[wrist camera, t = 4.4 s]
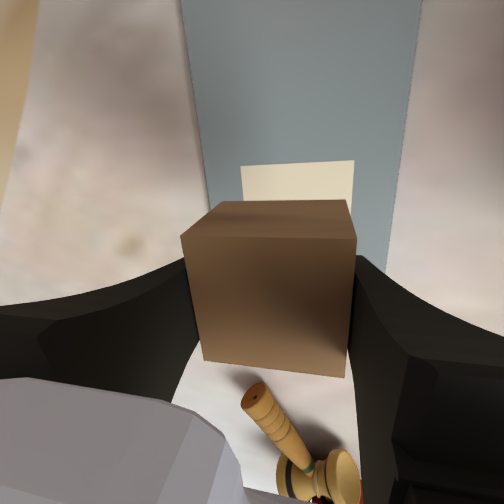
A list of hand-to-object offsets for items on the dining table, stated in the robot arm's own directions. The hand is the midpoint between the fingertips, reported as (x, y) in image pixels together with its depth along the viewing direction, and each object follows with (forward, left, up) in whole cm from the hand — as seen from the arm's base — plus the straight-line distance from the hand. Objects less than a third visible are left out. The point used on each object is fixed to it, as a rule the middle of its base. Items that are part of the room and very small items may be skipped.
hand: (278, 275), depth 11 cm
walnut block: (0, 0, -1) cm, 1 cm away
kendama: (-19, +16, -9) cm, 26 cm away
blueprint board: (+4, -4, -9) cm, 11 cm away
